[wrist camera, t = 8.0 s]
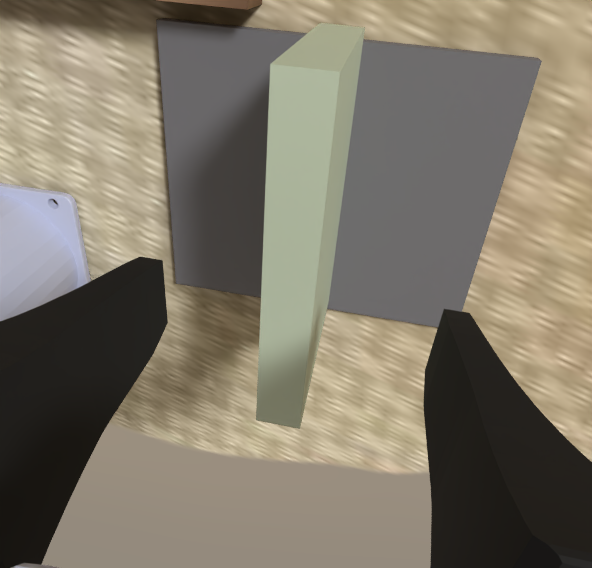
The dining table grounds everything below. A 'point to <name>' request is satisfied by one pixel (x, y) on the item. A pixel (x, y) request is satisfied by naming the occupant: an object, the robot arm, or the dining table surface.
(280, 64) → the pale green rectangular block
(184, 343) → the dining table surface
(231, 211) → the mat
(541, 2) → the dining table surface
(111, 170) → the dining table surface
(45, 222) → the robot arm
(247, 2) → the rack
